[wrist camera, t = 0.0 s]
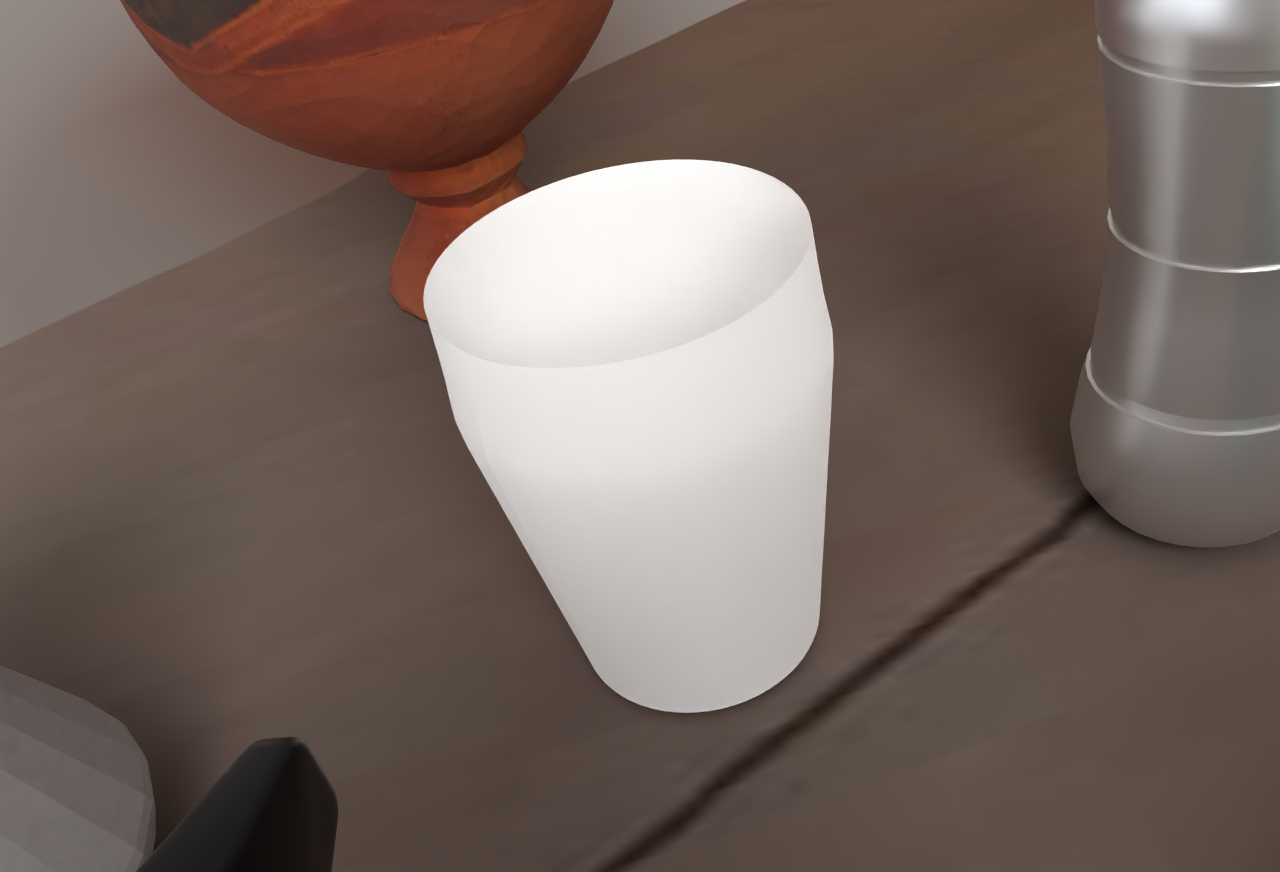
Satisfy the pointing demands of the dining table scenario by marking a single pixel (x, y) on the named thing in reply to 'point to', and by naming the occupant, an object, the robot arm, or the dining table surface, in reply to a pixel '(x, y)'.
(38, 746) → the coffee pot
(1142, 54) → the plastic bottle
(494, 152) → the goblet
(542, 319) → the cup
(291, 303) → the dining table surface
